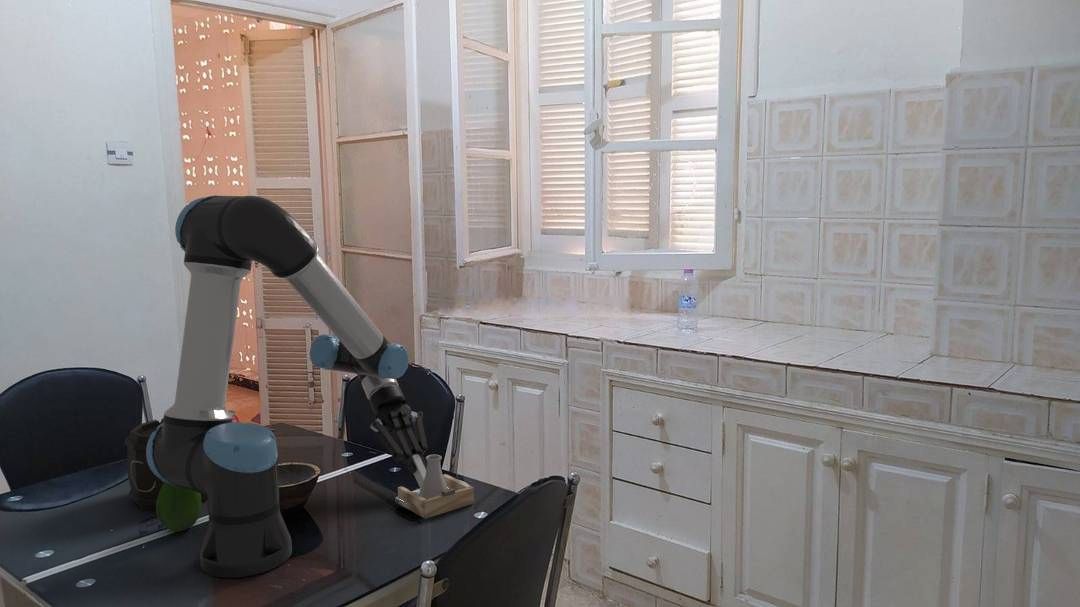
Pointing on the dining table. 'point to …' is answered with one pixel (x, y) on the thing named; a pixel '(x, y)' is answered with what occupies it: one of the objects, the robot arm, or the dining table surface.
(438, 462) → the flask
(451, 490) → the u-shaped wooden frame
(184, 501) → the avocado
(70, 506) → the dining table surface
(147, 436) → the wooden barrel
